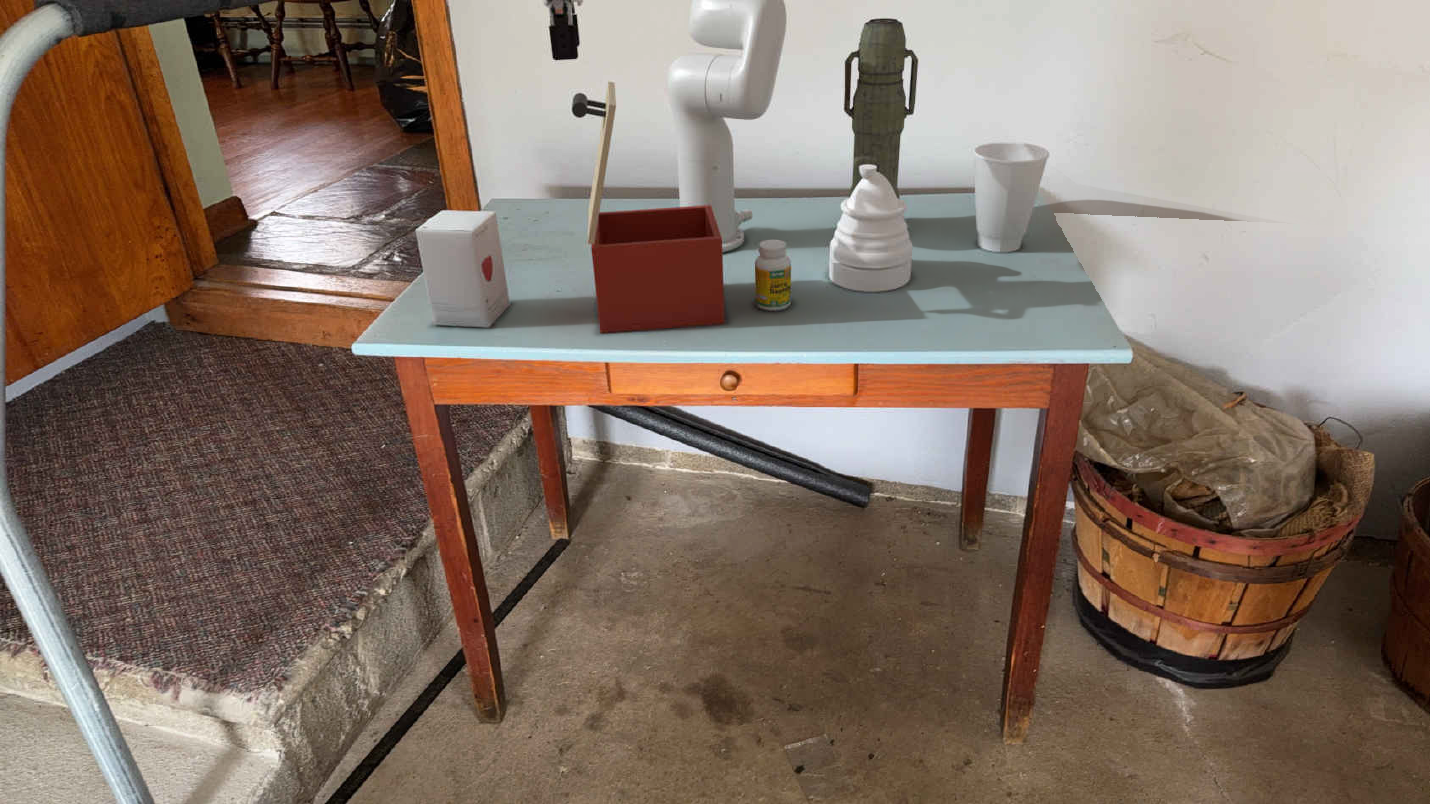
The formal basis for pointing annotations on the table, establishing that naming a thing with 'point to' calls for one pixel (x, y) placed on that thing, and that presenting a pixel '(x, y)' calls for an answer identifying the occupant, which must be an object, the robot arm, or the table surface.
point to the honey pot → (871, 238)
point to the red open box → (658, 269)
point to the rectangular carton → (463, 268)
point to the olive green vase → (879, 98)
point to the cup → (1006, 192)
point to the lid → (603, 148)
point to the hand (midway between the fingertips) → (566, 52)
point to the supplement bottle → (773, 276)
